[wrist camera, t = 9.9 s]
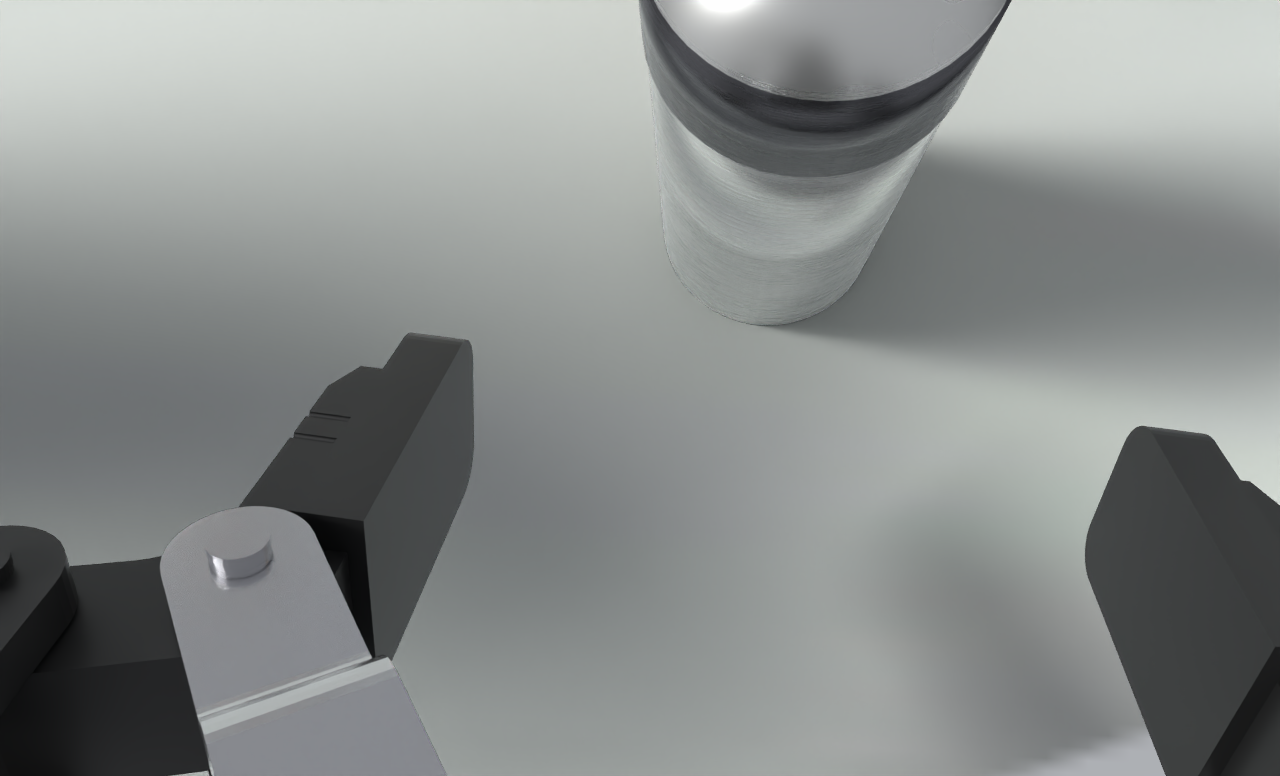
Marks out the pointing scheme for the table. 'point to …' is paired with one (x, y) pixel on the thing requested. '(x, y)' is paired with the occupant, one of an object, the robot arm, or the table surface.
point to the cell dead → (795, 135)
